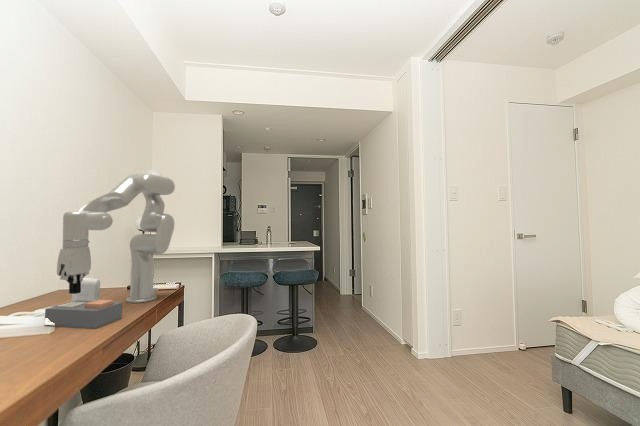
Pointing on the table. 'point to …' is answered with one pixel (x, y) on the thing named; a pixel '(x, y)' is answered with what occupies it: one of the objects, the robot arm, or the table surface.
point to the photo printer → (88, 290)
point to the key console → (83, 315)
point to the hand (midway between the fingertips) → (74, 293)
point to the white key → (72, 304)
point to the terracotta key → (99, 304)
